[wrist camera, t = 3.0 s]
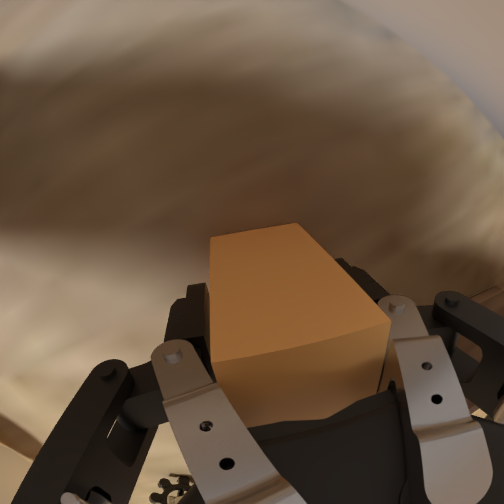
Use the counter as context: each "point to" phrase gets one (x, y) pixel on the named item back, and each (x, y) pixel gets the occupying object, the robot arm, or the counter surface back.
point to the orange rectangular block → (290, 327)
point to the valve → (165, 502)
